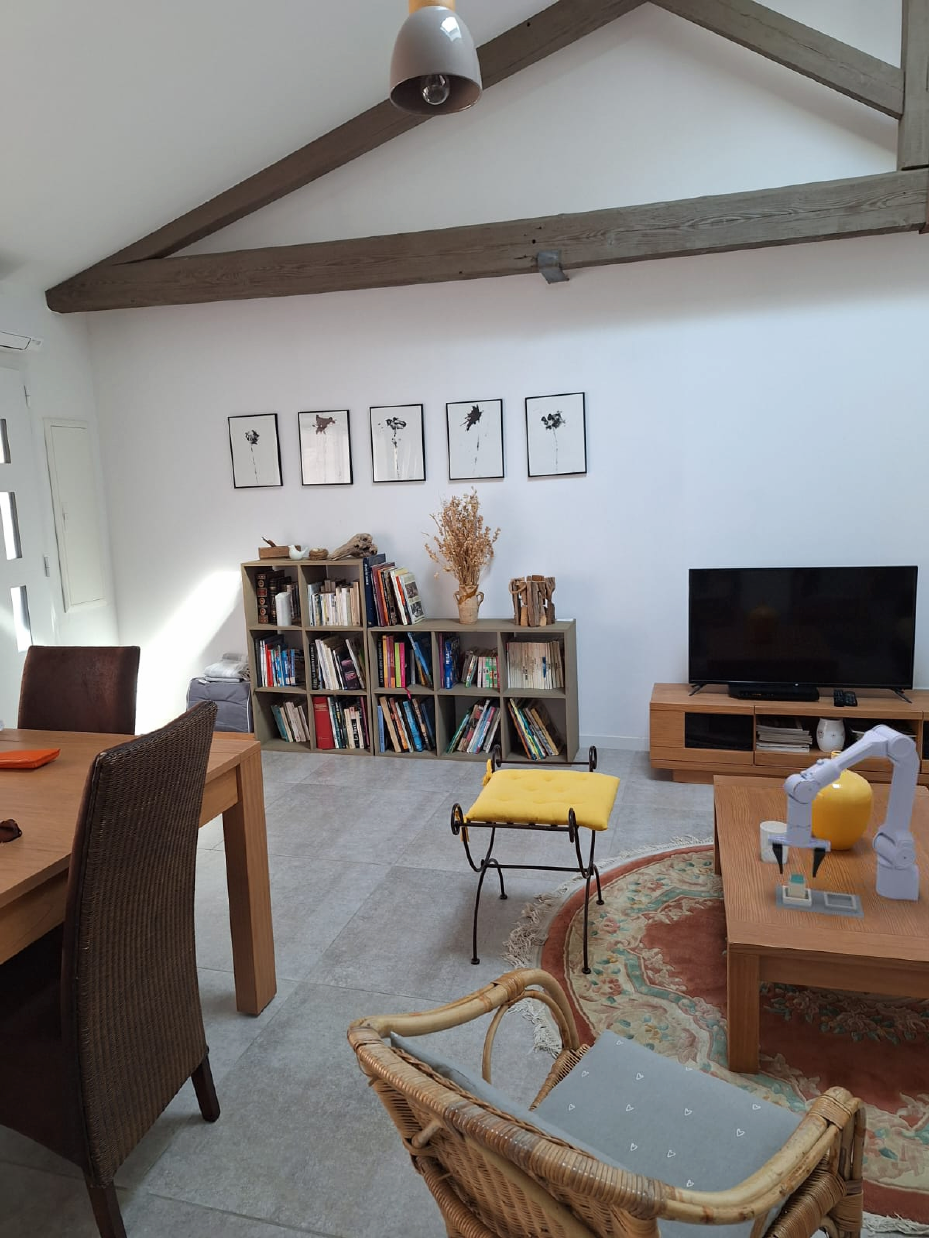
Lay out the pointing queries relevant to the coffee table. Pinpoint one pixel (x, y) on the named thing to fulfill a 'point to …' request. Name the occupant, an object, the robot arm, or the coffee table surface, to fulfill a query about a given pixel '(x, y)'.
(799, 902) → the port
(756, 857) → the coffee table surface
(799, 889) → the plug
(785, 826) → the white cup
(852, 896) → the frame
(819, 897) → the panel plate
